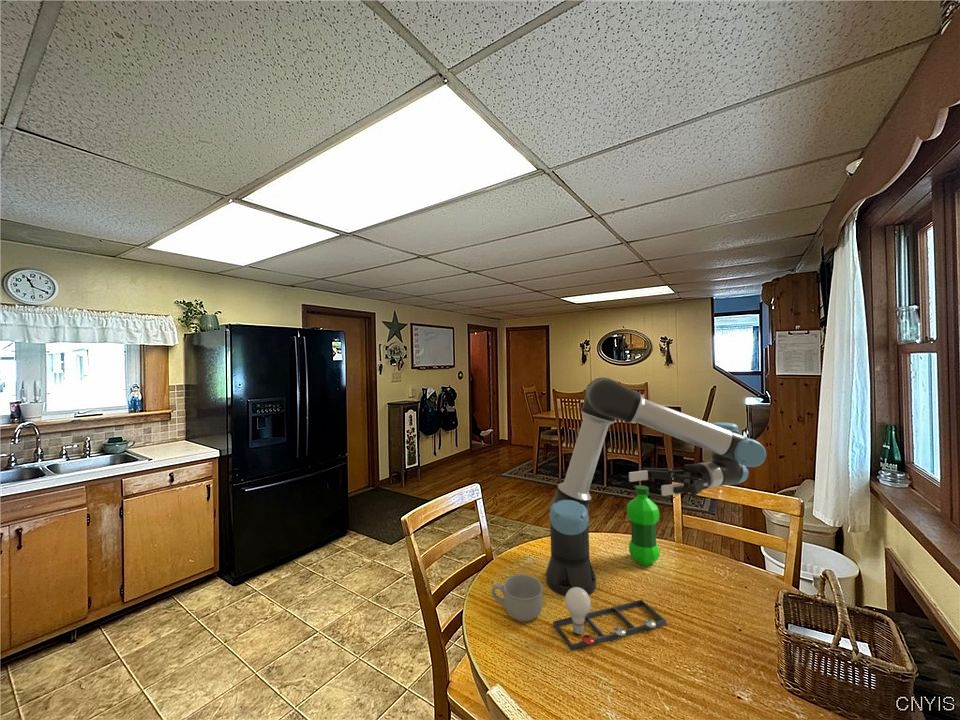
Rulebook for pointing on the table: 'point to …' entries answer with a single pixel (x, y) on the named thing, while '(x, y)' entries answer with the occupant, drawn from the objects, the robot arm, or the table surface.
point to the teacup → (520, 596)
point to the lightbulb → (578, 607)
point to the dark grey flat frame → (619, 631)
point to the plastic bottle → (643, 527)
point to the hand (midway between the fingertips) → (645, 483)
